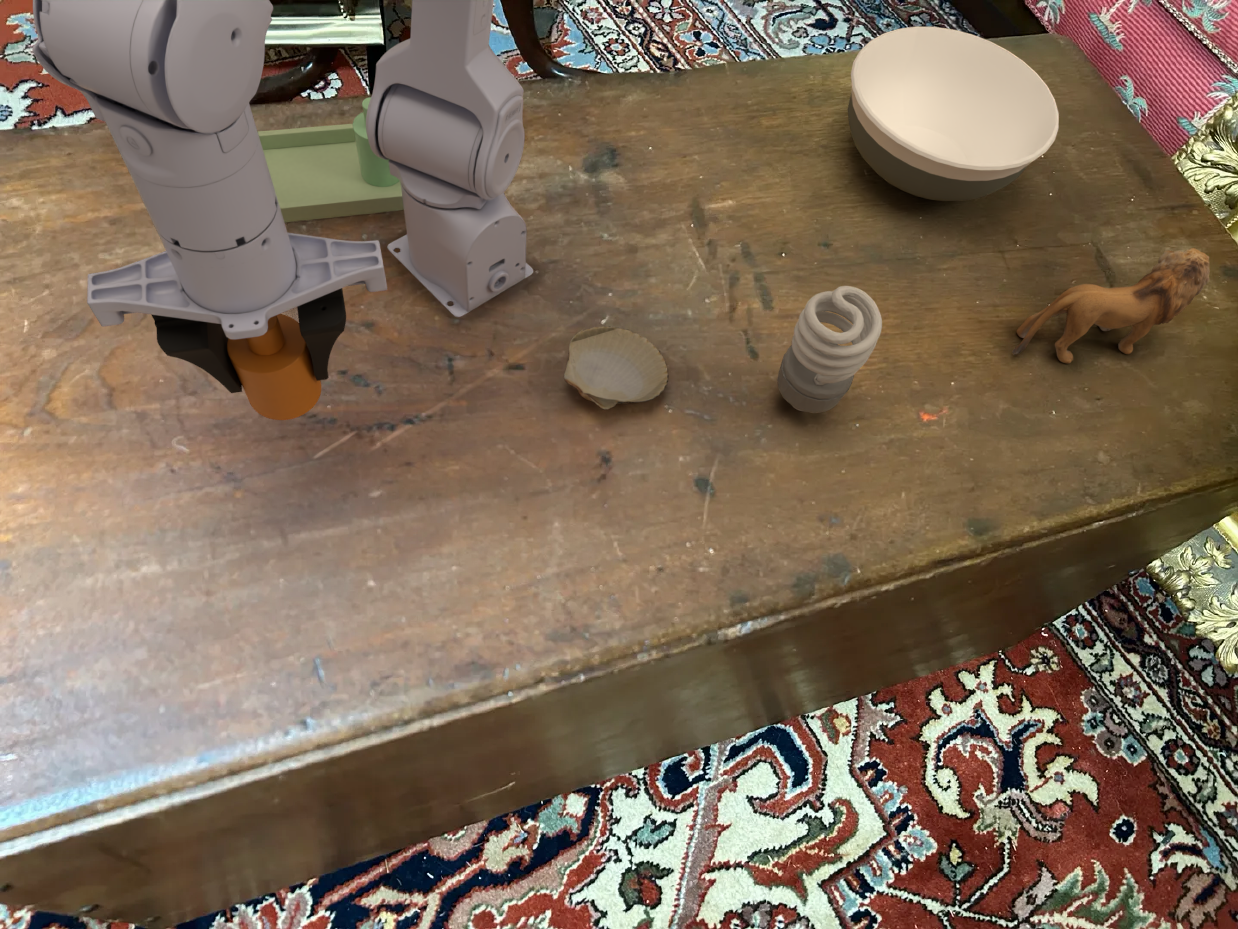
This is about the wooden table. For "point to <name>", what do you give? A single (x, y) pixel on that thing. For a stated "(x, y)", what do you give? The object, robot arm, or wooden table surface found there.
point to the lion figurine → (1125, 303)
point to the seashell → (615, 367)
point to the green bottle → (370, 154)
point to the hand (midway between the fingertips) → (277, 373)
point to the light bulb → (828, 348)
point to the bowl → (947, 113)
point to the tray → (322, 174)
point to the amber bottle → (276, 370)
